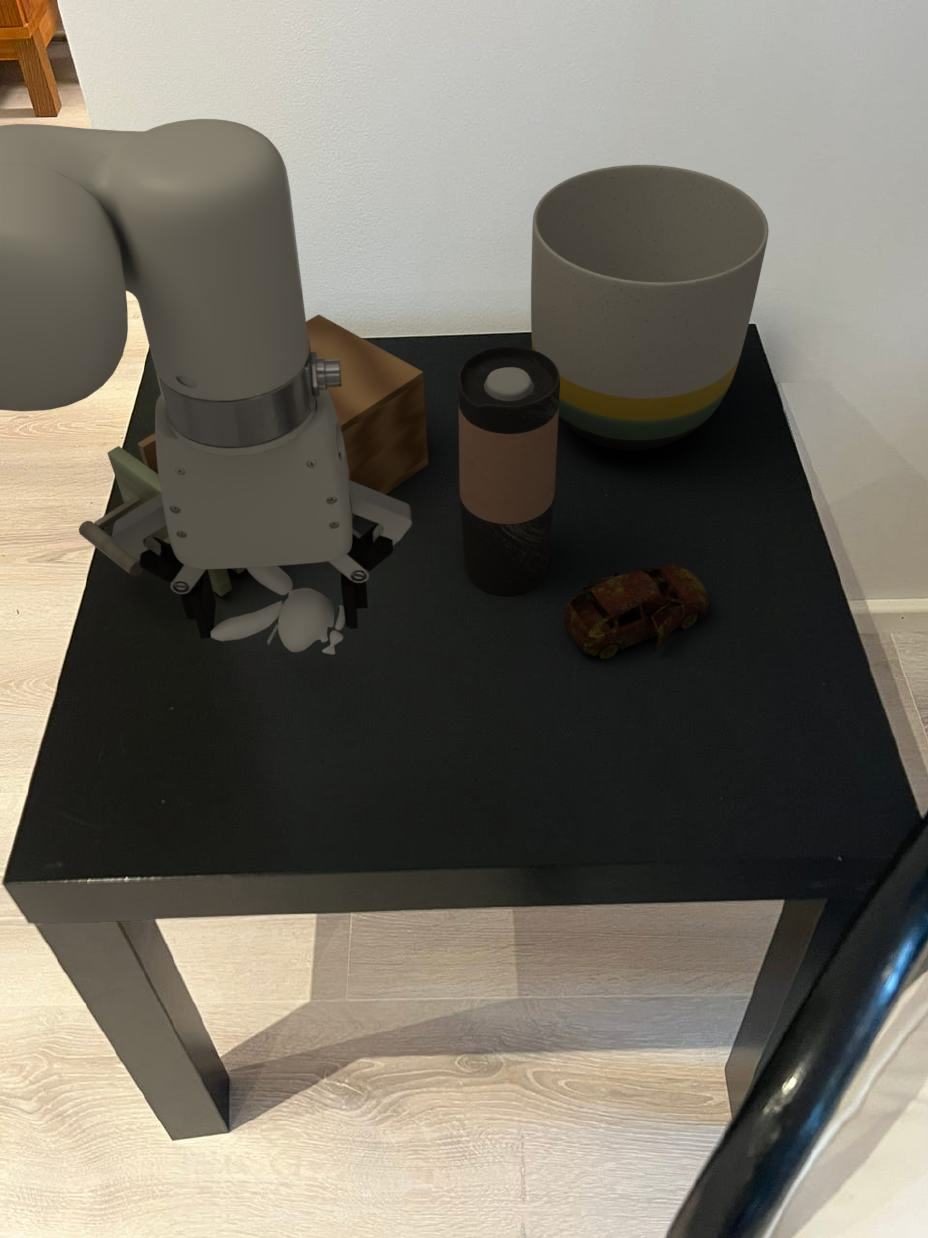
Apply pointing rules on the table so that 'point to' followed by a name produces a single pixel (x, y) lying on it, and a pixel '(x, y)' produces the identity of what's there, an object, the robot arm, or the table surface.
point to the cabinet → (374, 407)
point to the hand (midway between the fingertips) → (280, 615)
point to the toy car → (635, 609)
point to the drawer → (136, 490)
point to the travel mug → (507, 466)
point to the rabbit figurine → (286, 615)
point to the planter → (643, 298)
